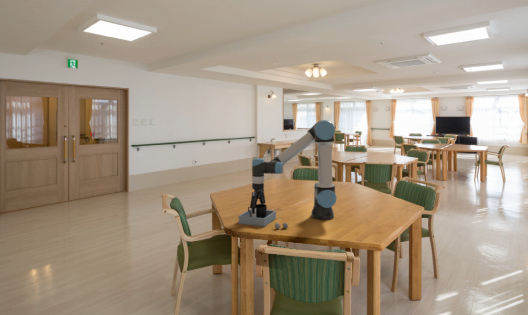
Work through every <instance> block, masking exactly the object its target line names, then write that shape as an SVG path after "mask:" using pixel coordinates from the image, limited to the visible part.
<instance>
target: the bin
mask: <svg viewBox="0 0 528 315" xmlns="http://www.w3.org/2000/svg"><path fill="white" fill-rule="evenodd" d="M249 210H250V212H251V214H252V208H249ZM251 214H250V213H249V211H248V210H246V211H244V212H243V213H241V214H239V215H238V224H240V225H246V226H254V227H262V228H265V227H267V226H268V225H269V224H271V223H272V222H274V220H276V219H277V211H276V210H272V211H271V210H267V213H266V217H265V218H256V217H252V216H251Z"/></svg>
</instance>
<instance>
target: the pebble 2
mask: <svg viewBox="0 0 528 315" xmlns="http://www.w3.org/2000/svg"><path fill="white" fill-rule="evenodd" d="M288 227H289V224H288V223H287V222H284V223H283V224H282V228H284V229H288Z"/></svg>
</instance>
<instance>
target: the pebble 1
mask: <svg viewBox="0 0 528 315" xmlns="http://www.w3.org/2000/svg"><path fill="white" fill-rule="evenodd" d="M274 228H275V229H276V230H279V229H280V228H281V224H280V222H276V223H275V224H274Z"/></svg>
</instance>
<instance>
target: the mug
mask: <svg viewBox="0 0 528 315" xmlns="http://www.w3.org/2000/svg"><path fill="white" fill-rule="evenodd" d="M250 209H251V208H250V206H247V211H249V213H250V214H251V212H250ZM267 209H268V207H267V204H266V203H265V204H261V203H257V204H256V218H265V217H266V213H267ZM251 216H252V214H251Z"/></svg>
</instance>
